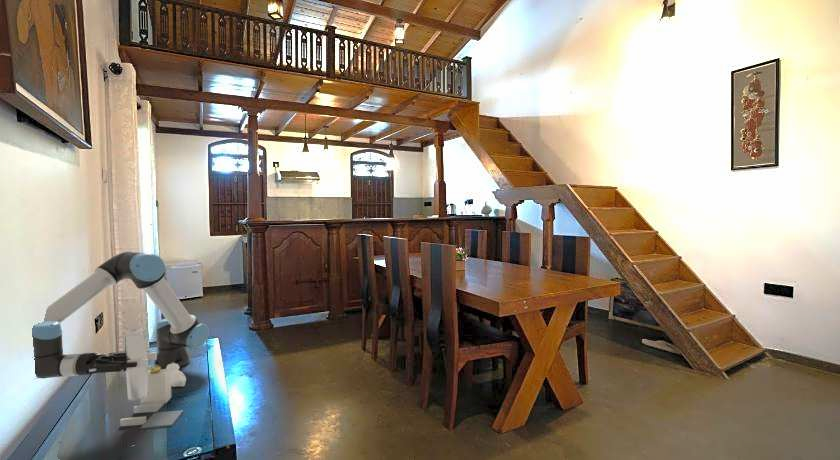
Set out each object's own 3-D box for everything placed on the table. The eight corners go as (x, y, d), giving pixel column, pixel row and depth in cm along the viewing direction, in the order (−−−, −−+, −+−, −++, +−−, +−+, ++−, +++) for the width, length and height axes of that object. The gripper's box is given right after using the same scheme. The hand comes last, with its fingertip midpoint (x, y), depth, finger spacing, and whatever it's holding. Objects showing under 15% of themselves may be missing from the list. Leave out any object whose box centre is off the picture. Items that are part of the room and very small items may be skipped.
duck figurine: (174, 385, 178) (154, 370, 173) (188, 371, 182) (170, 356, 177) (179, 395, 169) (159, 379, 164) (194, 380, 173) (175, 364, 168)
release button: (152, 373, 161) (152, 365, 160) (162, 373, 161) (162, 365, 161) (148, 377, 157) (147, 369, 157) (158, 376, 158) (157, 368, 157)
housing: (147, 399, 161) (146, 370, 161) (171, 397, 163) (170, 368, 162) (118, 426, 141) (117, 393, 141) (146, 424, 143) (145, 391, 142)
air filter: (138, 401, 143) (133, 333, 141) (123, 399, 144) (118, 332, 142) (153, 392, 149) (149, 327, 147) (139, 391, 150) (135, 326, 148)
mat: (154, 414, 150) (154, 412, 150) (183, 411, 151) (183, 410, 151) (140, 428, 140) (140, 427, 140) (171, 425, 142) (171, 424, 142)
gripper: (97, 364, 152) (164, 359, 156) (63, 386, 133) (139, 380, 137) (96, 344, 151) (163, 340, 155) (61, 364, 133) (138, 359, 137)
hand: (152, 359), depth 146 cm, fingers closed on air filter, 6 cm apart
